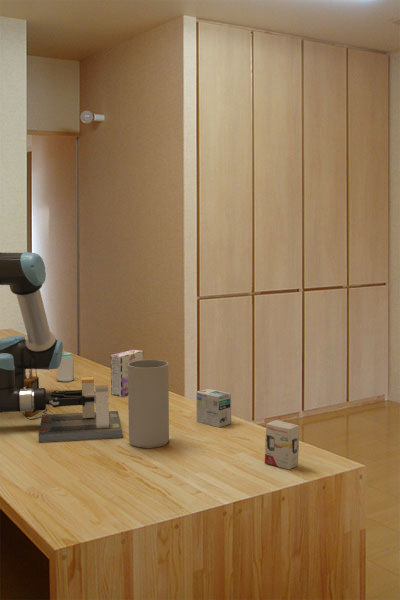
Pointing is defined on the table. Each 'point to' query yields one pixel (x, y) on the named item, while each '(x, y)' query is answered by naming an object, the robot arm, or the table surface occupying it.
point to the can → (66, 368)
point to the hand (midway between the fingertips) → (104, 396)
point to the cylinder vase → (148, 403)
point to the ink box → (282, 444)
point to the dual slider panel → (82, 423)
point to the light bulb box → (214, 407)
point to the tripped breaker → (88, 390)
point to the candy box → (122, 370)
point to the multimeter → (31, 384)
